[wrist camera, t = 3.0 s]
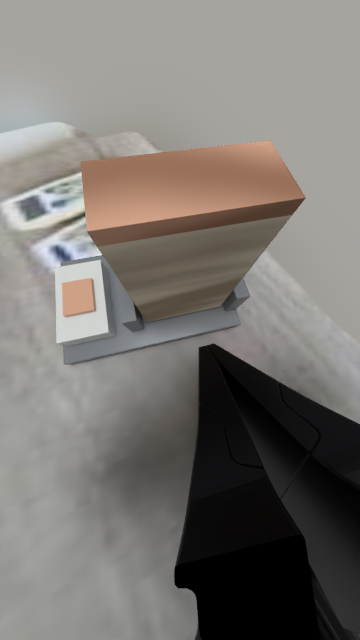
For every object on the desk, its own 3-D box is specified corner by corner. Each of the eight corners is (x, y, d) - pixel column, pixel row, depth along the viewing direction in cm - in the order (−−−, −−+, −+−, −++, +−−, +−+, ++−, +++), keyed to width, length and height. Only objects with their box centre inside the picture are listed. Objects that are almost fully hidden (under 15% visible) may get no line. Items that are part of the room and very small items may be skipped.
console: (236, 326, 15) (264, 309, 11) (71, 364, 14) (16, 364, 9) (208, 243, 18) (220, 200, 13) (67, 268, 17) (23, 229, 12)
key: (220, 306, 15) (305, 197, 5) (147, 322, 14) (86, 231, 4) (211, 279, 15) (270, 140, 6) (141, 292, 15) (80, 161, 5)
